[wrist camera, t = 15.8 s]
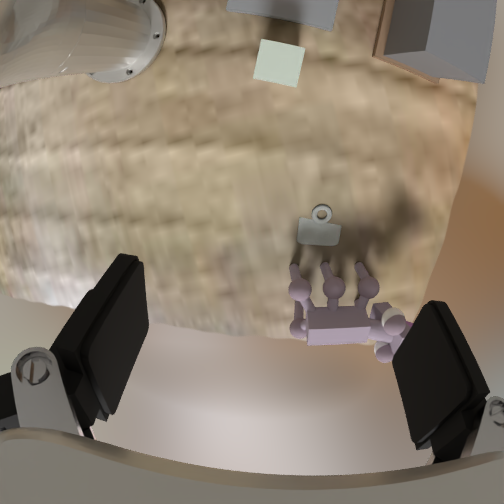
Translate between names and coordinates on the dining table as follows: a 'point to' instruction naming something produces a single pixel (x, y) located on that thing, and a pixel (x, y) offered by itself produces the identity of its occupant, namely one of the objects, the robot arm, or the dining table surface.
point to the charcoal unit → (437, 37)
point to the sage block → (279, 62)
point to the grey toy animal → (346, 314)
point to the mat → (290, 10)
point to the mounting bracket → (318, 229)
